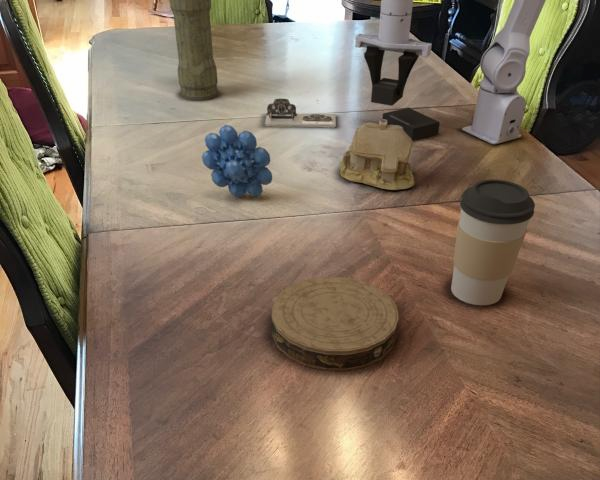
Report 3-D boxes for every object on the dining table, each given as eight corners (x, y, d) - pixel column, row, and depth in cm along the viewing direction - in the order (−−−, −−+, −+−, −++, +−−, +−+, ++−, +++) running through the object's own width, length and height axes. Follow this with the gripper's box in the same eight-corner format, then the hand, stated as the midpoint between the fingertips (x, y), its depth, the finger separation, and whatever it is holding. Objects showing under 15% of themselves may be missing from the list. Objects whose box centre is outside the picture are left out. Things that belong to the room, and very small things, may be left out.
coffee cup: (462, 266, 90) (484, 166, 80) (520, 289, 86) (551, 185, 76) (431, 293, 85) (450, 189, 75) (491, 318, 81) (520, 212, 70)
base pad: (437, 134, 128) (439, 121, 126) (411, 141, 125) (413, 128, 123) (407, 119, 134) (408, 107, 132) (381, 125, 131) (382, 112, 129)
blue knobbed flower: (201, 207, 103) (193, 134, 95) (208, 189, 108) (201, 118, 100) (270, 210, 102) (268, 137, 94) (274, 192, 107) (272, 121, 99)
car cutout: (264, 126, 130) (264, 103, 127) (266, 115, 135) (266, 93, 132) (335, 127, 130) (336, 105, 127) (335, 116, 135) (336, 94, 132)
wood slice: (246, 329, 79) (244, 310, 77) (331, 282, 87) (332, 263, 85) (336, 389, 71) (338, 370, 68) (421, 331, 79) (425, 312, 77)
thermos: (225, 100, 142) (211, -94, 118) (173, 101, 141) (148, -94, 117) (225, 87, 148) (211, -99, 124) (175, 88, 147) (152, -99, 123)
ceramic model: (419, 169, 115) (427, 113, 108) (411, 194, 107) (419, 136, 100) (346, 160, 118) (349, 105, 111) (332, 184, 110) (335, 127, 103)
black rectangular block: (402, 97, 124) (404, 80, 122) (392, 106, 120) (394, 89, 118) (381, 93, 125) (383, 77, 123) (370, 102, 121) (372, 85, 119)
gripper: (440, 12, 112) (429, 91, 122) (367, 3, 117) (362, 80, 126) (428, 20, 108) (417, 102, 117) (352, 11, 113) (348, 90, 122)
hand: (387, 92), depth 122 cm, fingers closed on black rectangular block, 4 cm apart
